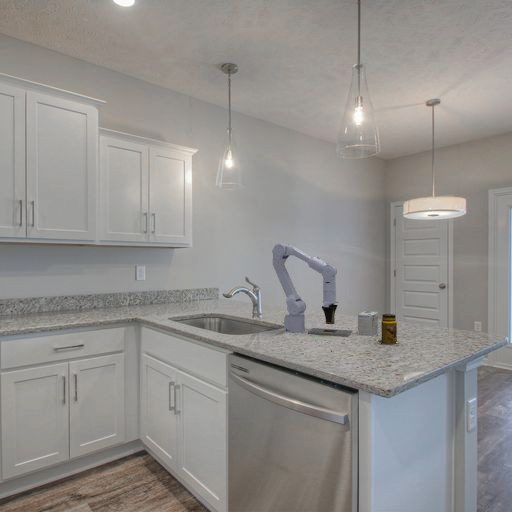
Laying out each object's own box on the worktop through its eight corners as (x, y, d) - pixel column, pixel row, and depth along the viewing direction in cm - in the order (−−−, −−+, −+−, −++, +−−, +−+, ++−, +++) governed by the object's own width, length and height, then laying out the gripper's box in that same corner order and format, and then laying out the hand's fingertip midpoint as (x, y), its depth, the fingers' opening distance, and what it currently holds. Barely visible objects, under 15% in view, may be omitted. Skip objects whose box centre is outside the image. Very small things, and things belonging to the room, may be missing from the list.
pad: (310, 342, 158) (310, 339, 159) (314, 339, 165) (314, 336, 165) (333, 344, 154) (333, 341, 154) (337, 341, 161) (337, 337, 161)
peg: (324, 324, 170) (324, 310, 170) (326, 322, 173) (326, 309, 173) (333, 324, 168) (333, 311, 168) (335, 323, 172) (335, 310, 172)
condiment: (396, 345, 152) (395, 316, 152) (374, 343, 156) (374, 314, 156) (399, 342, 158) (398, 313, 158) (378, 340, 162) (378, 312, 162)
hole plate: (307, 337, 170) (307, 331, 170) (313, 333, 179) (313, 327, 179) (348, 340, 162) (348, 334, 163) (351, 335, 172) (351, 330, 172)
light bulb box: (363, 333, 177) (363, 310, 177) (378, 335, 174) (378, 311, 174) (357, 337, 168) (357, 313, 168) (372, 339, 164) (372, 314, 164)
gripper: (335, 293, 163) (335, 324, 163) (341, 290, 176) (341, 319, 176) (319, 292, 166) (319, 323, 165) (326, 290, 179) (326, 318, 179)
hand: (329, 321), depth 171 cm, fingers closed on peg, 4 cm apart
